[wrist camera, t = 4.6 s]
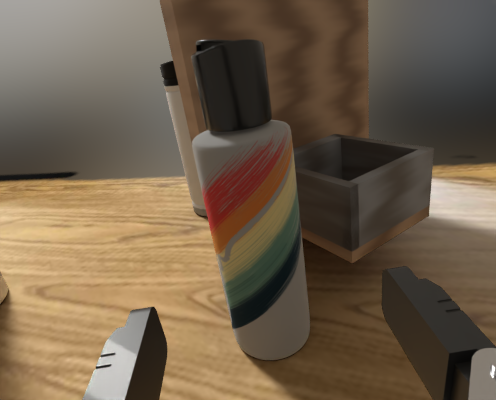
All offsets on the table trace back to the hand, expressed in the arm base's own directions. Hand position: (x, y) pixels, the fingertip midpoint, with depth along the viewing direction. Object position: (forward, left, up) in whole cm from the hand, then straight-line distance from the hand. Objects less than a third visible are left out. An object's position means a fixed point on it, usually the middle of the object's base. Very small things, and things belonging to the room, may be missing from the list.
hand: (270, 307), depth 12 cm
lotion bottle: (+5, +8, -11) cm, 15 cm away
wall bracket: (+16, +12, -11) cm, 23 cm away
